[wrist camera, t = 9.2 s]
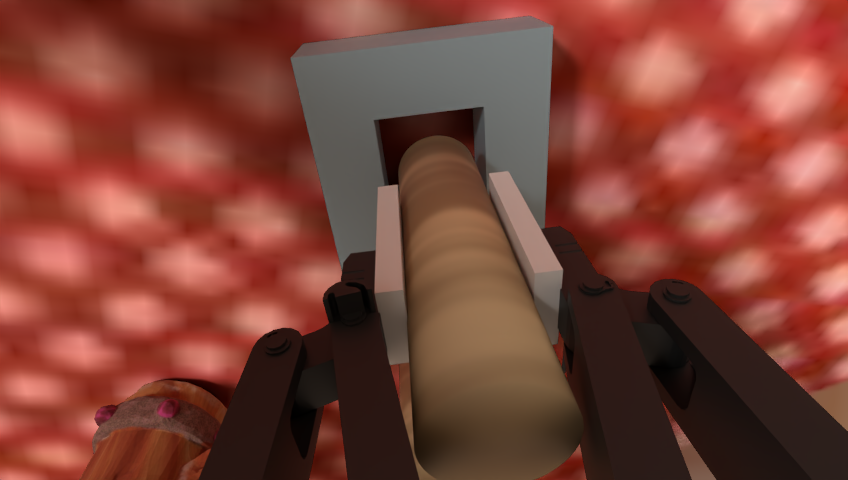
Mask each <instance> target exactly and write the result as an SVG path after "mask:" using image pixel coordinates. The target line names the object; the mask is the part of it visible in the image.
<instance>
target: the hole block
mask: <svg viewBox="0 0 848 480" xmlns="http://www.w3.org/2000/svg"><path fill="white" fill-rule="evenodd" d="M552 44H553V26H552V25H550V24H548V23H545V22H543V21H541V20H539V19H536V18H534V17H532V16H524V17H516V18H508V19H499V20H491V21H483V22H475V23H467V24H458V25H450V26H442V27H434V28H426V29H417V30H409V31H401V32H393V33H385V34H376V35H368V36H360V37H352V38H344V39H335V40H327V41H319V42H311V43H303V44H302V45H301V47H300V48H299V49H298V50H297V51H296V52H295V53H294V55H293V56H292V57H291V58H290V59H291V63H292V67H293V71H294V75H295V79H296V83H297V87H298V92H299V96H300V100H301V104H302V108H303V112H304V116H305V121H306V125H307V129H308V133H309V137H310V141H311V145H312V149H313V154H314V158H315V162H316V166H317V170H318V174H319V178H320V182H321V187H322V191H323V195H324V199H325V203H326V207H327V211H328V215H329V220H330V224H331V228H332V232H333V236H334V240H335V244H336V248H337V253H338V257H339V261H340V265H341V269H343V263H344V261H345V260H346V259H347V257H348V256H349V255H350V253H358V252H366V251H374V250H376V230H377V200H378V187H382V186H389V184H388V177H387V171H386V165H385V158H384V152H383V145H382V139H381V133H380V126H379V119H387V118H395V117H403V116H411V115H419V114H427V113H435V112H444V111H452V110H460V109H468V108H472V109H473V130H474V152H475V163H476V166H477V168H478V171H479V173H480V175H481V178H482V180H483V182H484V185H485V187H486V189H487V192H488V194H489V173H496V172H504V171H508V172H509V173H510V175H511V177H512V179H513V181H514V182H515V184H516V186H517V188H518V190H519V191H520V193H521V195H522V197H523V199H524V200H525V202H526V204H527V206H528V208H529V209H530V211H531V213H532V215H533V217H534V218H535V220H536V222H537V224H538V226H539V227H540V229H543V228H545V209H546V185H547V162H548V138H549V115H550V91H551V68H552ZM398 192H399V185H398ZM399 199H400V194H399Z"/></svg>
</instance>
